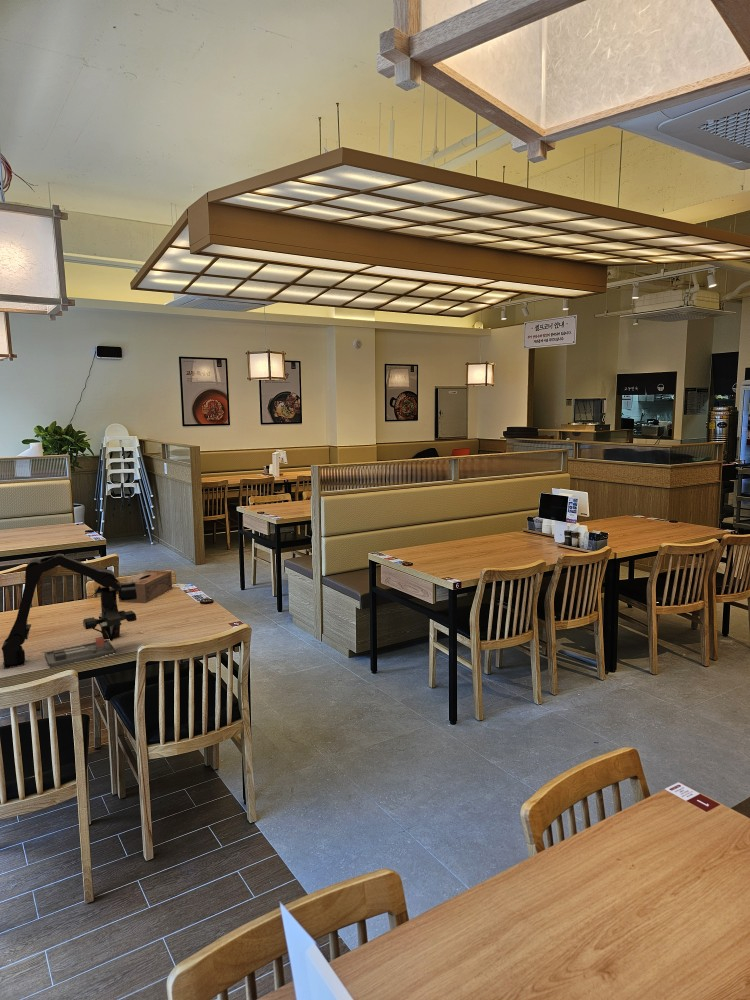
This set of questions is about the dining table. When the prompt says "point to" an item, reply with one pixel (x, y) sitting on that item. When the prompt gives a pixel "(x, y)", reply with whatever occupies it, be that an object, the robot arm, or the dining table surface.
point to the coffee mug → (110, 630)
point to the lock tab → (99, 641)
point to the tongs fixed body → (79, 652)
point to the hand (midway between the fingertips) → (111, 640)
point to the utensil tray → (52, 663)
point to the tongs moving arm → (68, 650)
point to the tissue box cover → (149, 585)
